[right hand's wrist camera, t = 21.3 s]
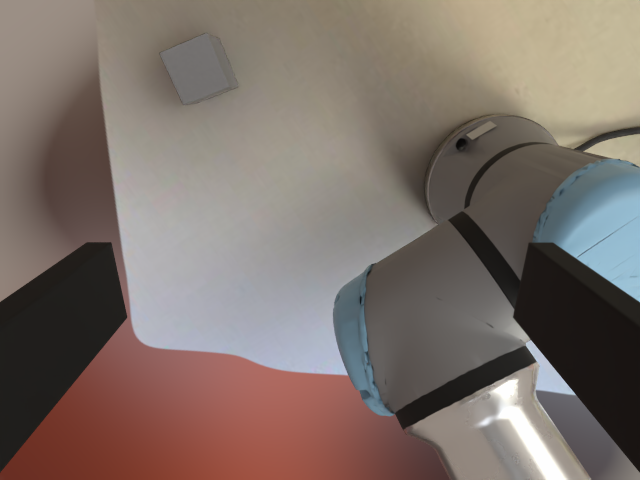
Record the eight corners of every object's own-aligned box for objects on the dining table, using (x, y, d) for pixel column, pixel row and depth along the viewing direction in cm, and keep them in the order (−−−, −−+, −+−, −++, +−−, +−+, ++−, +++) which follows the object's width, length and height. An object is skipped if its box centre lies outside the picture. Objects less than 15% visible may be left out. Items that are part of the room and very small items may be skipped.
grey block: (219, 38, 41) (206, 32, 36) (239, 86, 43) (229, 86, 38) (176, 56, 42) (158, 52, 37) (197, 103, 43) (183, 105, 39)
